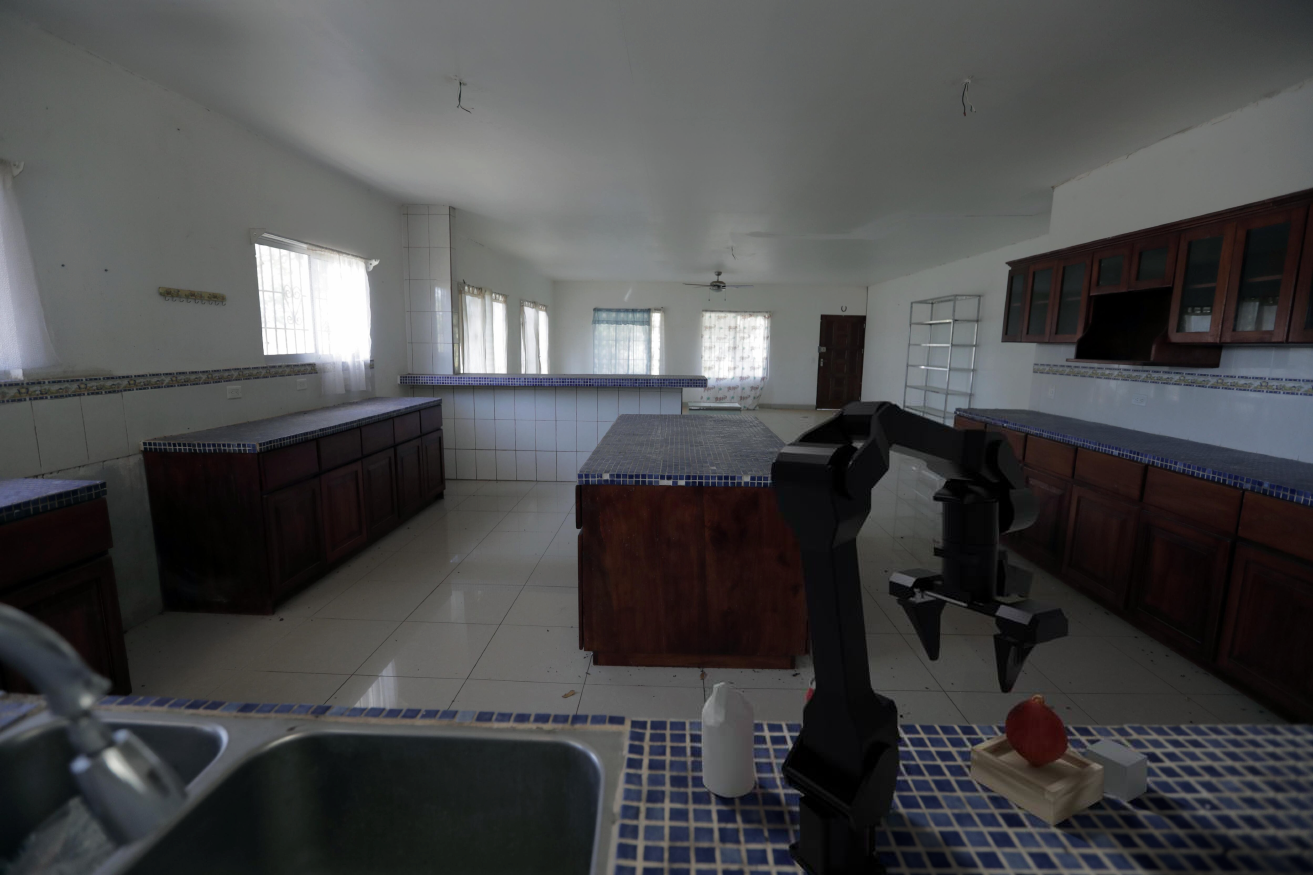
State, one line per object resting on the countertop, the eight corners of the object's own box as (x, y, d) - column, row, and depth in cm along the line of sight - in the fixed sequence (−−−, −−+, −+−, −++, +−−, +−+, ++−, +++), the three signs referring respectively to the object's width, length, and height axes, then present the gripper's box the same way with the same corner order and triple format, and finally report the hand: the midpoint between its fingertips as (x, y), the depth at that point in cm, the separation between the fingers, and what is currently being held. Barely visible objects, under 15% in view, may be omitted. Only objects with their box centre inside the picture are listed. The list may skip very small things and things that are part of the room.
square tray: (1052, 825, 60) (1053, 792, 60) (970, 777, 68) (970, 747, 68) (1103, 798, 64) (1103, 766, 64) (1019, 755, 72) (1020, 726, 72)
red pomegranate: (1005, 771, 65) (1007, 699, 64) (1003, 745, 70) (1004, 678, 69) (1070, 787, 62) (1072, 712, 61) (1062, 758, 67) (1065, 689, 66)
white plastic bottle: (754, 671, 69) (752, 694, 64) (756, 771, 70) (753, 802, 64) (703, 667, 71) (696, 689, 65) (705, 765, 71) (698, 795, 66)
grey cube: (1126, 803, 63) (1127, 766, 63) (1085, 782, 67) (1086, 747, 66) (1146, 791, 65) (1147, 756, 65) (1105, 771, 68) (1106, 738, 68)
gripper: (1102, 549, 62) (1099, 695, 63) (948, 520, 79) (947, 636, 80) (1033, 561, 57) (1031, 718, 58) (886, 528, 74) (885, 650, 75)
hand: (967, 675), depth 68 cm, fingers open, 9 cm apart
